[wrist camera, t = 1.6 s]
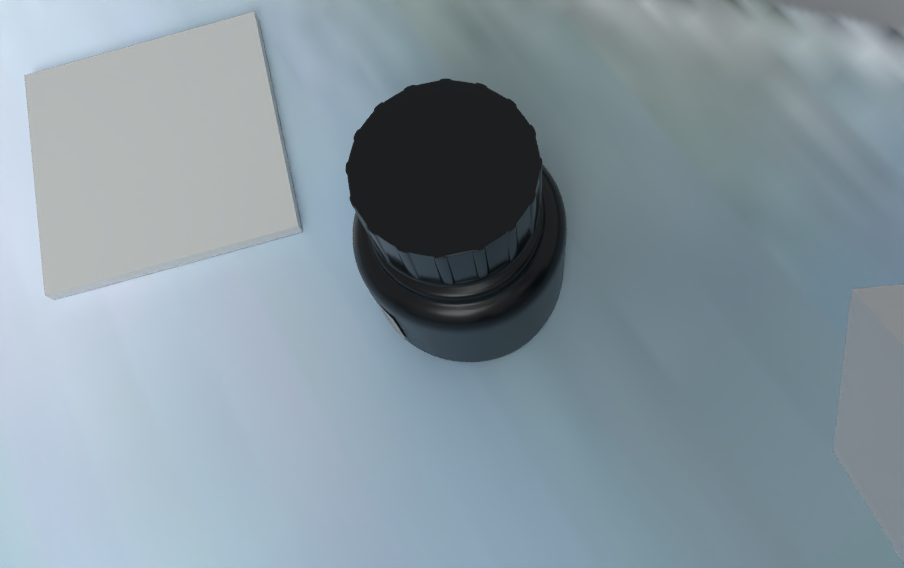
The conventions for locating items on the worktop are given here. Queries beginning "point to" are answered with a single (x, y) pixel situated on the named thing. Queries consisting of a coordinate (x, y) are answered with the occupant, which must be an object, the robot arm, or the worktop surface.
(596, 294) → the worktop surface
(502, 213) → the ink bottle
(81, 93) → the ceramic tile
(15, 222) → the worktop surface
